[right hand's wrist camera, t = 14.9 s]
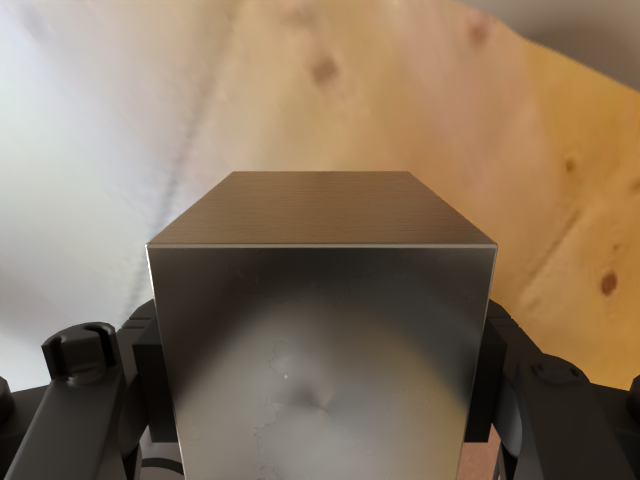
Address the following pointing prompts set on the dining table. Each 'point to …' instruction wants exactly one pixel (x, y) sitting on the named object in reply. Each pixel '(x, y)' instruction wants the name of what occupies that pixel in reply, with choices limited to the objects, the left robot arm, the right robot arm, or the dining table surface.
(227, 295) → the metallic grey cube
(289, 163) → the dining table surface
